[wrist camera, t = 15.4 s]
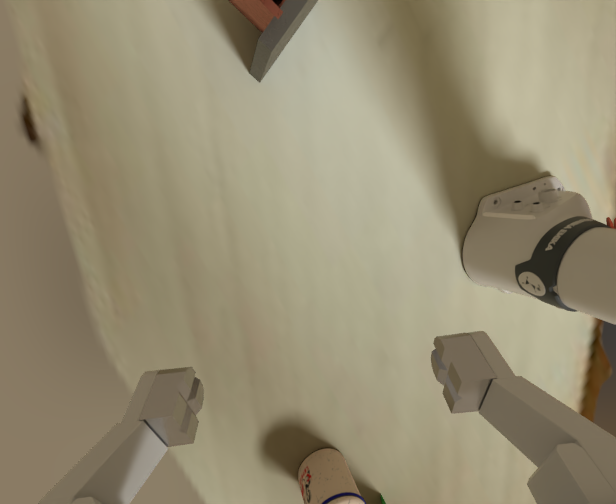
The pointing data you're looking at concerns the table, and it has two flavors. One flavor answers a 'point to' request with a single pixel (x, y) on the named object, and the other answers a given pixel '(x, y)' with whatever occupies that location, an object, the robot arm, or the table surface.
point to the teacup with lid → (327, 479)
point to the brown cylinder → (277, 1)
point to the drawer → (272, 28)
